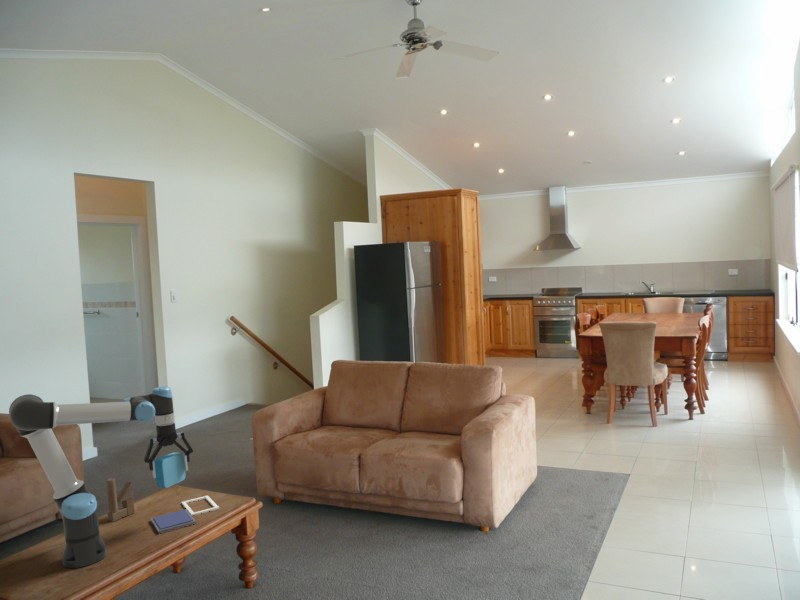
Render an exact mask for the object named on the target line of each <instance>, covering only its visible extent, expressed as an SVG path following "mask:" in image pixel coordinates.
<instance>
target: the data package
mask: <svg viewBox="0 0 800 600" xmlns="http://www.w3.org/2000/svg"><path fill="white" fill-rule="evenodd" d="M183 455H184V453H182V452H176V451H175V452H171V453H169V454H166V455H164V456H161V457H158V458H155V460H154V463H155V472H156V478H155V479H156V480H155V481H156V486H157V488H163V489H168V488H170V487H172V486H175V485H176V484H179V483H181V482H182V481H184V480H185V479H186V470H185V466H184V456H183Z"/></svg>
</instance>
